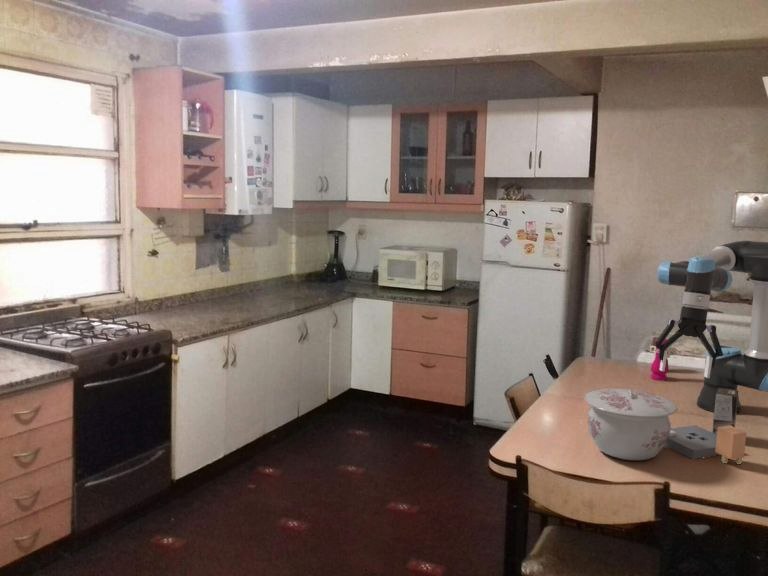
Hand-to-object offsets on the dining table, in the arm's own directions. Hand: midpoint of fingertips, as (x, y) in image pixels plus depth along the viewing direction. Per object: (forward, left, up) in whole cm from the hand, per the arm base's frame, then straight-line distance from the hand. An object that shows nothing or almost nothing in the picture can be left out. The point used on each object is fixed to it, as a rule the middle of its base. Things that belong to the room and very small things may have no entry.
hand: (684, 374), depth 213 cm
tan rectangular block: (-8, +12, -25) cm, 29 cm away
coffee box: (-24, -5, -25) cm, 35 cm away
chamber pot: (+17, -4, -25) cm, 31 cm away
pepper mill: (-54, -70, -25) cm, 92 cm away
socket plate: (-8, -2, -25) cm, 27 cm away
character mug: (-65, -81, -25) cm, 107 cm away
